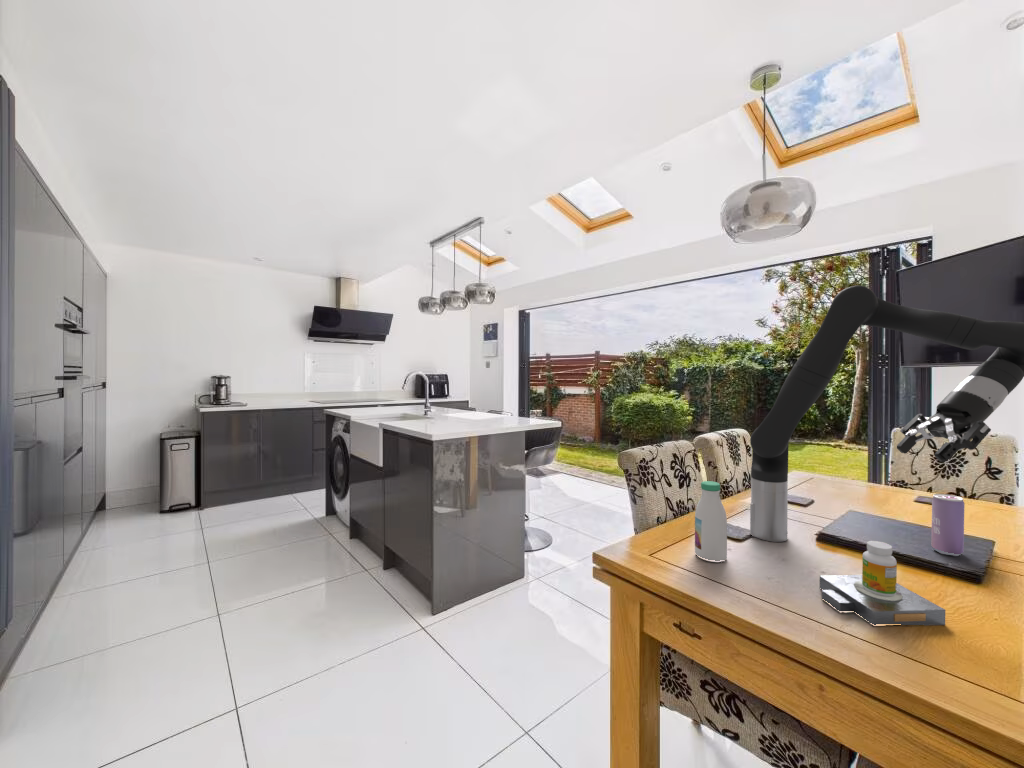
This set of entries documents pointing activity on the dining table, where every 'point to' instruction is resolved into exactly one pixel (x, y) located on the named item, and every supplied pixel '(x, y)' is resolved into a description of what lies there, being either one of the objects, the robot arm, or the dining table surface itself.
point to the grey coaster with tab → (880, 602)
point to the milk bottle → (710, 524)
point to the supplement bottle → (879, 569)
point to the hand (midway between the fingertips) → (918, 454)
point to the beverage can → (948, 523)
